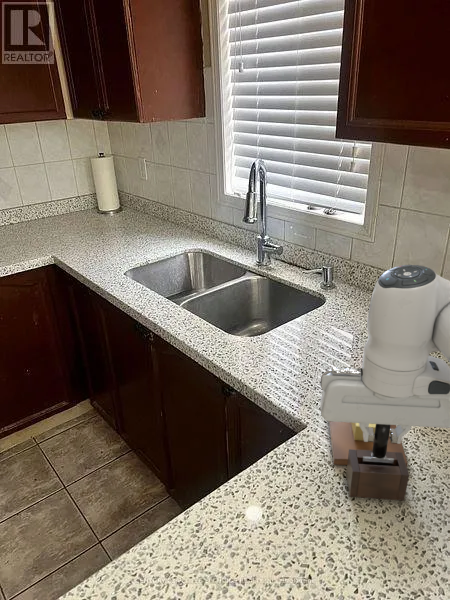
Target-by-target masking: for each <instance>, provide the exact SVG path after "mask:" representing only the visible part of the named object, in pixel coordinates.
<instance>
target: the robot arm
mask: <svg viewBox="0 0 450 600" xmlns="http://www.w3.org/2000/svg"><path fill="white" fill-rule="evenodd" d="M369 302H370V303H369V307H368V313H367V321H366V329H367V336H368V337H367V339H366V342H365V343H364V345H363V346H364V347H363V351H362V352H363V353H362V354H363V355H362V361H361V368H356V367H355V368H354V367H353V368H352V367H350V368H347V367H346V368H343V367H331V369H329V370H326V371H324V372H323V373H322V374H321V377H320V388H321V390H322V391H321V396H320V397H321V398H320V406H319V407H320V414H321V417H322V418H323V420H325V421H326V422H329V421H332V422H350V423H359V426H360V428H361V430H362V431H363V439H364V442H374V436H375V435H374V432H373V428H372V427H369V424H386V425H396V428H395V429H390V434H389V439H390V443H395V444H400V443H402V438H403V437H404V436H406V435H407V434H408V433H409V432H410V431H411V430H412V427H421V428H422V427H424V428H425V427H426V428H439V429H440V428H442V429H449V428H450V366H449V364H448V363H450V280H449V279H446V278H444V277H443V276H441V275H439V274H438V273H436V271H435V270H433V269H432V268H430V267H427V266H424V265H419V264H402V265H398V266H394V267H392V268H389V269H387V270H385V271H383V273H381V275H380V276H379V277H378V279H377V280H376V282H375V284H374V287H373V290H372V293H371V298H370V301H369ZM434 352H435V353H436V352H438V353H439V352H440V353H441V355H443V356H444V358H446V360H447V361H448V363H447V361H445V360H444V359H442V358H439V357H437V356H432V355H430V354H431V353H434Z"/></svg>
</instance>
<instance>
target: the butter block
mask: <svg viewBox="0 0 450 600" xmlns="http://www.w3.org/2000/svg"><path fill="white" fill-rule="evenodd" d="M351 424H352V430H353V435H354V440H362V441H364V439H363V431H362V430H361V428H360V426H359V423H351ZM369 427H372V428H373V432H374V434H375V427H376V424H369Z"/></svg>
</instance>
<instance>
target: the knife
mask: <svg viewBox="0 0 450 600" xmlns="http://www.w3.org/2000/svg"><path fill="white" fill-rule="evenodd" d="M390 426H391V425H386V424H376V427H375V434H374V435H375V436H374V442H373V449H372V452H373V453H371V457H365V456H363V459H362V464H369V465H384V466H393V463H394V458H387V457H386V452H387V445H388V439H389V432H390Z"/></svg>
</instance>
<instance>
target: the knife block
mask: <svg viewBox="0 0 450 600" xmlns="http://www.w3.org/2000/svg"><path fill="white" fill-rule="evenodd" d="M371 453H373V452H372V451H370V450H353V449H349V453H348V462H347V465H346V472H345V475H346V483H347V489H348V495H349V496H348V497H351V498H363V499H376V500H389V501H401V502H404V501H405V497H406V494H407V490H408V489H407V488H408V484H409V479H410V473H409V470H408V465H407V466H406V463H405V460H404V456H403V453H402V452H386V457H387V458H394V463H393V466H384V465H369V464H362V459H363V456H365V457H371Z"/></svg>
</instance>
